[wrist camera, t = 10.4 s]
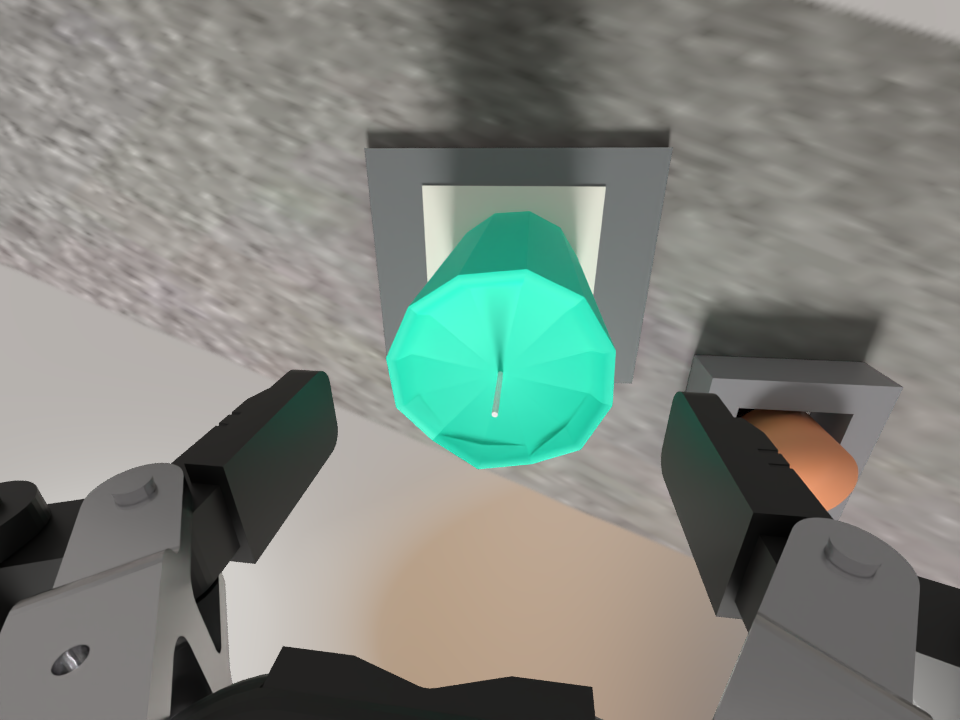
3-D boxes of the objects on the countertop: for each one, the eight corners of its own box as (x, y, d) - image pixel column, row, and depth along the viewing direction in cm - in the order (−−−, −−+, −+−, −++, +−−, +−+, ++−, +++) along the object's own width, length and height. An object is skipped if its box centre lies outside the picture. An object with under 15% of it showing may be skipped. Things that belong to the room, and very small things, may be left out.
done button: (831, 407, 21) (875, 445, 18) (801, 478, 23) (837, 522, 20) (734, 402, 21) (764, 439, 19) (714, 472, 23) (737, 514, 21)
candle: (433, 234, 20) (320, 332, 9) (560, 190, 19) (598, 246, 8) (476, 347, 22) (424, 529, 12) (592, 315, 21) (653, 489, 10)
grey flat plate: (668, 147, 18) (673, 147, 18) (629, 378, 23) (632, 384, 22) (369, 148, 19) (363, 148, 19) (391, 366, 24) (387, 372, 24)
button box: (864, 362, 21) (903, 387, 19) (810, 487, 25) (837, 521, 22) (694, 355, 22) (712, 378, 20) (665, 477, 26) (678, 509, 23)
